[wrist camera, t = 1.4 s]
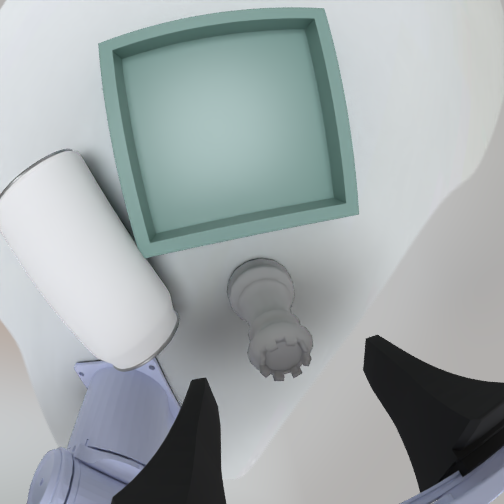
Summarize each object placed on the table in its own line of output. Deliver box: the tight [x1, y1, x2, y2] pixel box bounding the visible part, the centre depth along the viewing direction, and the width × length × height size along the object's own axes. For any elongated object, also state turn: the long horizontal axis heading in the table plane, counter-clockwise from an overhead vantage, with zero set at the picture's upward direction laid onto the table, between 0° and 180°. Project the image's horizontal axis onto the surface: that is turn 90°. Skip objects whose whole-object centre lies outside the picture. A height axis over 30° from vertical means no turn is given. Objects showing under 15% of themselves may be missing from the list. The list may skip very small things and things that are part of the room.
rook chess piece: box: [227, 259, 313, 381], centre depth 17 cm, size 4×4×8 cm
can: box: [0, 149, 179, 372], centre depth 15 cm, size 6×6×12 cm
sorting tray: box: [98, 8, 359, 258], centre depth 15 cm, size 13×13×2 cm
